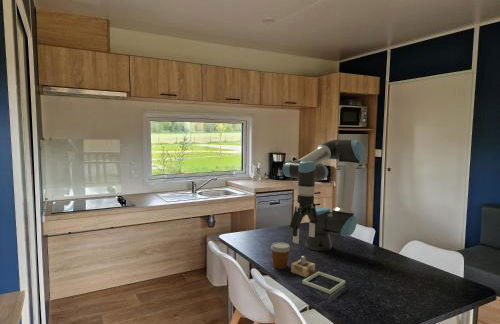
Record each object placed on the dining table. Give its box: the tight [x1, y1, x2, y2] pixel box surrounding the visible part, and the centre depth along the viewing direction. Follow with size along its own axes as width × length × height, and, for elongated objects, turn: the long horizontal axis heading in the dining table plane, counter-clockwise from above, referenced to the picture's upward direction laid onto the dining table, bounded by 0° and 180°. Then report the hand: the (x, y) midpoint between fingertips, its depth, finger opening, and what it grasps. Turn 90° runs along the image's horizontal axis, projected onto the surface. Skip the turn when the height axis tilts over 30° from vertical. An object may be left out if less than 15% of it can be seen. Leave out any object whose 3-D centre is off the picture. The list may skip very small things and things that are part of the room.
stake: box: [300, 255, 307, 266], centre depth 150 cm, size 7×7×9 cm
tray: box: [301, 271, 346, 298], centre depth 139 cm, size 13×13×3 cm
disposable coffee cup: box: [270, 241, 291, 270], centre depth 156 cm, size 10×10×12 cm
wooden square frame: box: [290, 258, 316, 278], centre depth 149 cm, size 8×9×4 cm
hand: (303, 239), depth 148 cm, fingers open, 13 cm apart
